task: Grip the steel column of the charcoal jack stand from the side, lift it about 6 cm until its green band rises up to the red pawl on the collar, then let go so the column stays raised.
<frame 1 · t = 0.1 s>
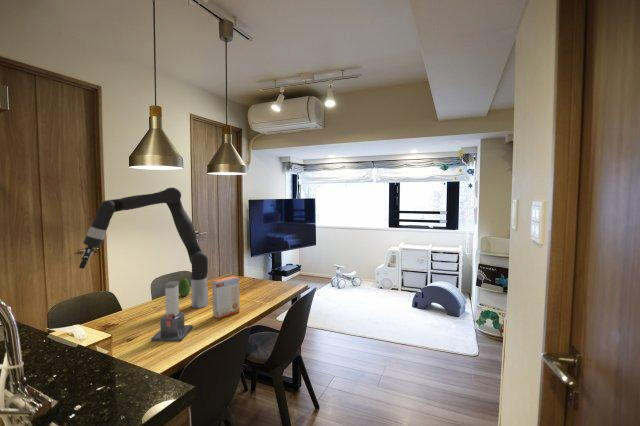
hand: (82, 266, 156), 31 cm above the table, tool tilted 20°, fingers open, 8 cm apart
column: (172, 307, 149), point 14 cm above the table, slide at 0.0 cm
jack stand: (172, 334, 149), on the table
avocado: (184, 296, 207), on the table
cracker box: (226, 314, 175), on the table
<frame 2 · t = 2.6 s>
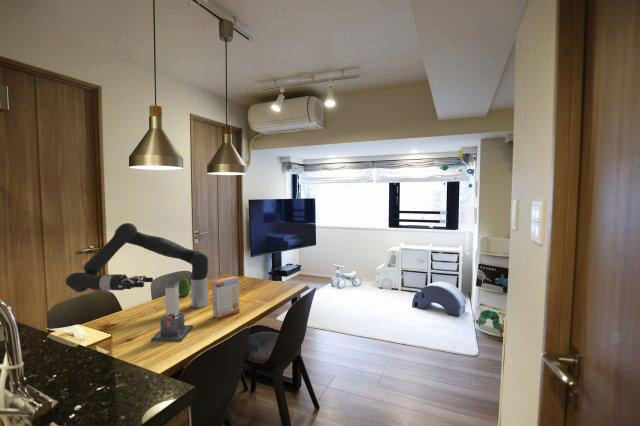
hand: (148, 282, 147), 26 cm above the table, tool horizontal, fingers open, 8 cm apart
nothing on the table moved.
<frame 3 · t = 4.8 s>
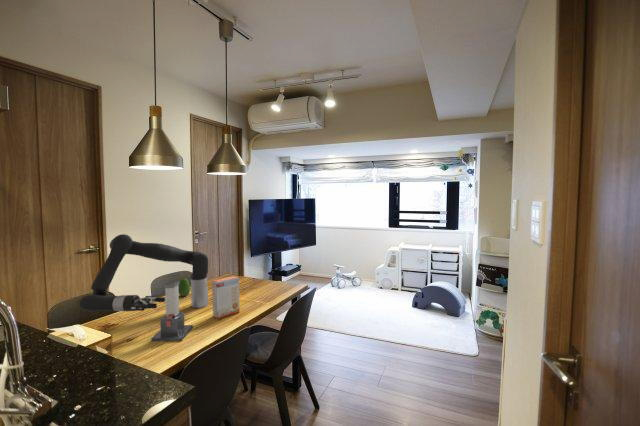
hand: (160, 302, 148), 16 cm above the table, tool horizontal, fingers open, 8 cm apart
nothing on the table moved.
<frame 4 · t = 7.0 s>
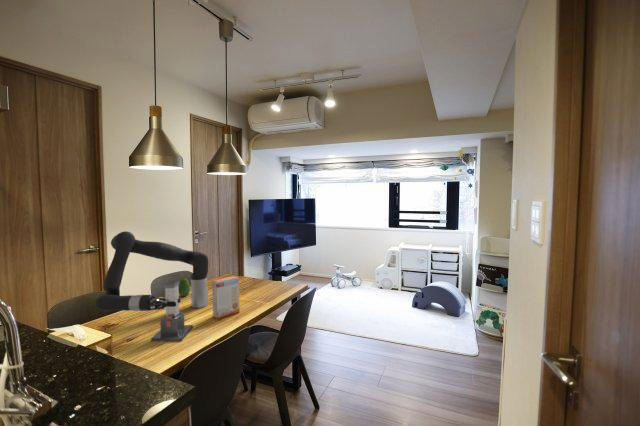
hand: (177, 302, 149), 16 cm above the table, tool horizontal, fingers closed on column, 4 cm apart
column: (172, 307, 149), point 14 cm above the table, slide at 0.0 cm, touching gripper
everything else where it was.
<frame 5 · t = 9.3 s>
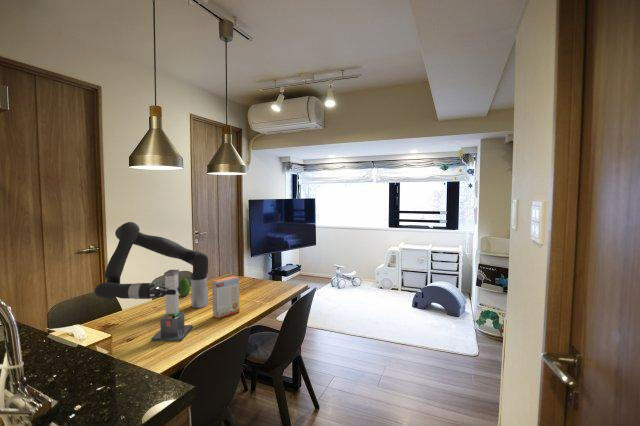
hand: (177, 290, 148), 22 cm above the table, tool horizontal, fingers closed on column, 4 cm apart
column: (172, 295, 148), point 19 cm above the table, slide at 5.8 cm, touching gripper
everything else where it was.
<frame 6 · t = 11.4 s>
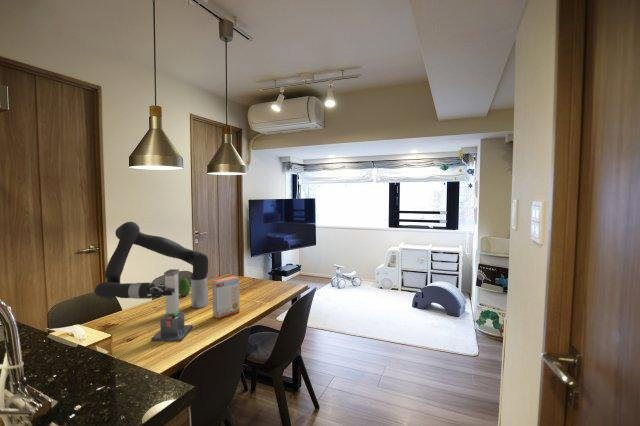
hand: (176, 290, 148), 22 cm above the table, tool horizontal, fingers open, 8 cm apart
column: (172, 295, 148), point 20 cm above the table, slide at 5.9 cm
everything else where it was.
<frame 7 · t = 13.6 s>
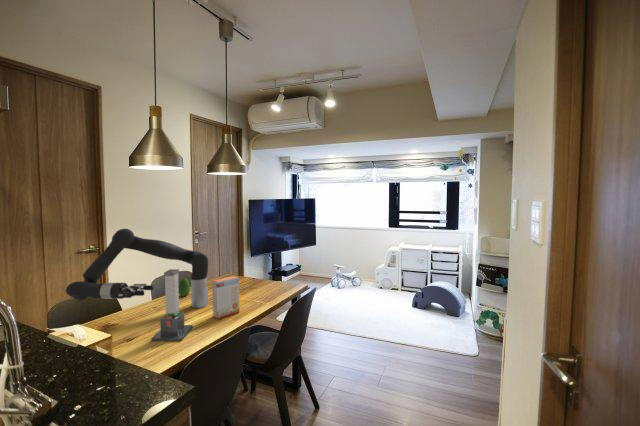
hand: (148, 290, 147), 22 cm above the table, tool horizontal, fingers open, 8 cm apart
nothing on the table moved.
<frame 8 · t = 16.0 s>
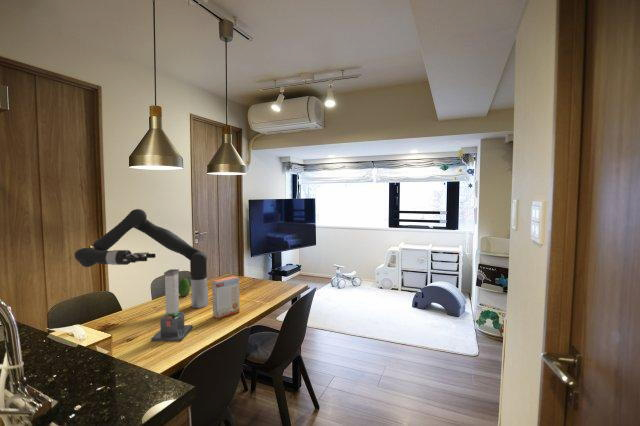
hand: (151, 257, 158), 36 cm above the table, tool horizontal, fingers open, 8 cm apart
nothing on the table moved.
at the end: column slide at 5.9 cm; the gripper is holding nothing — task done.
